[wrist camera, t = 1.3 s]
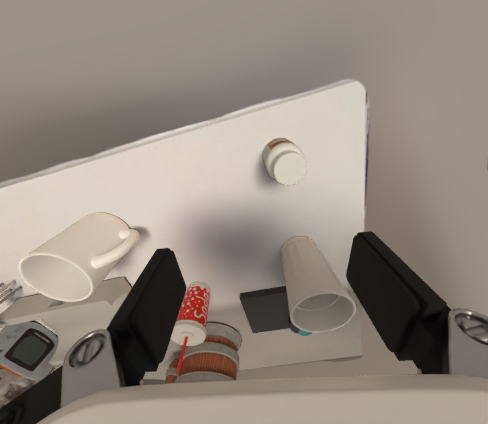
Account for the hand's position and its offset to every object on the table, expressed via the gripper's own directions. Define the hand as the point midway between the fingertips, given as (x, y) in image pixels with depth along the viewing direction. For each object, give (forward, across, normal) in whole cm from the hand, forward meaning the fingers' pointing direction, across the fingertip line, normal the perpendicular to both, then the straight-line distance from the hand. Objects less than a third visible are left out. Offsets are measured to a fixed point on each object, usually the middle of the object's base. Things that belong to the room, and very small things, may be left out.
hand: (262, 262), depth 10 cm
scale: (+19, -3, +31) cm, 37 cm away
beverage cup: (+19, +13, +24) cm, 34 cm away
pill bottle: (+19, -4, -1) cm, 20 cm away
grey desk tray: (+19, +38, +26) cm, 50 cm away
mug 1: (+19, +23, +8) cm, 31 cm away
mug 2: (+19, +16, +43) cm, 49 cm away
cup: (+19, -7, +16) cm, 26 cm away
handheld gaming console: (+19, +53, +34) cm, 66 cm away
